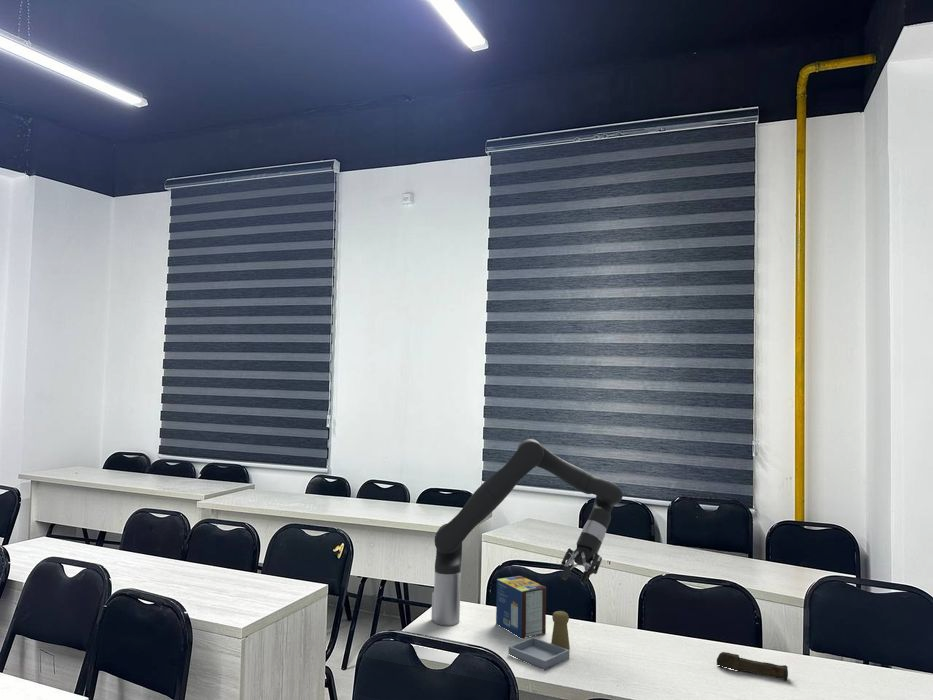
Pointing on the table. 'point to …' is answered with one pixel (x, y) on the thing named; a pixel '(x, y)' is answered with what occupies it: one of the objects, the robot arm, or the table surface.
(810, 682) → the table surface
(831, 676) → the table surface
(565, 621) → the cork
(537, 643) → the tray
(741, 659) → the hand tool
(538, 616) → the protein box
